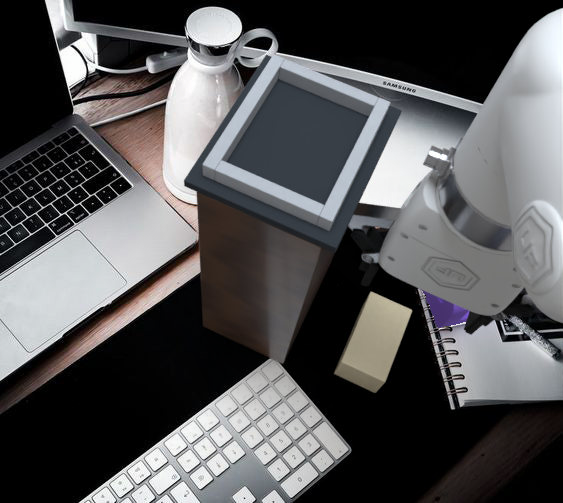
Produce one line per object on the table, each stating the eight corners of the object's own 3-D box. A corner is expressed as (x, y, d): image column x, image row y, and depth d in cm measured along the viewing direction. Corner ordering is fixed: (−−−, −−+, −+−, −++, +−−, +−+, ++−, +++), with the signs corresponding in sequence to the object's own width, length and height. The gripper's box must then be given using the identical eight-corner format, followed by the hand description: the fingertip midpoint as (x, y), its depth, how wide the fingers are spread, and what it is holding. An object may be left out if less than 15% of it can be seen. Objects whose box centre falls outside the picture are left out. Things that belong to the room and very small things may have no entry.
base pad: (399, 116, 50) (407, 98, 48) (334, 253, 44) (340, 239, 42) (265, 61, 51) (267, 40, 49) (183, 186, 45) (182, 169, 43)
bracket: (436, 331, 72) (457, 309, 66) (416, 278, 75) (434, 253, 69) (527, 310, 74) (555, 287, 68) (504, 260, 77) (529, 234, 71)
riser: (330, 263, 75) (388, 111, 50) (283, 364, 68) (322, 248, 44) (256, 230, 76) (276, 65, 51) (202, 326, 70) (196, 191, 45)
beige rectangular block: (401, 324, 72) (412, 310, 68) (375, 393, 68) (385, 382, 64) (362, 306, 73) (370, 291, 69) (333, 373, 68) (340, 361, 64)
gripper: (353, 181, 38) (313, 289, 53) (622, 299, 36) (501, 375, 52) (394, 98, 41) (345, 222, 57) (642, 202, 40) (523, 301, 55)
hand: (420, 295), depth 54 cm, fingers open, 9 cm apart
